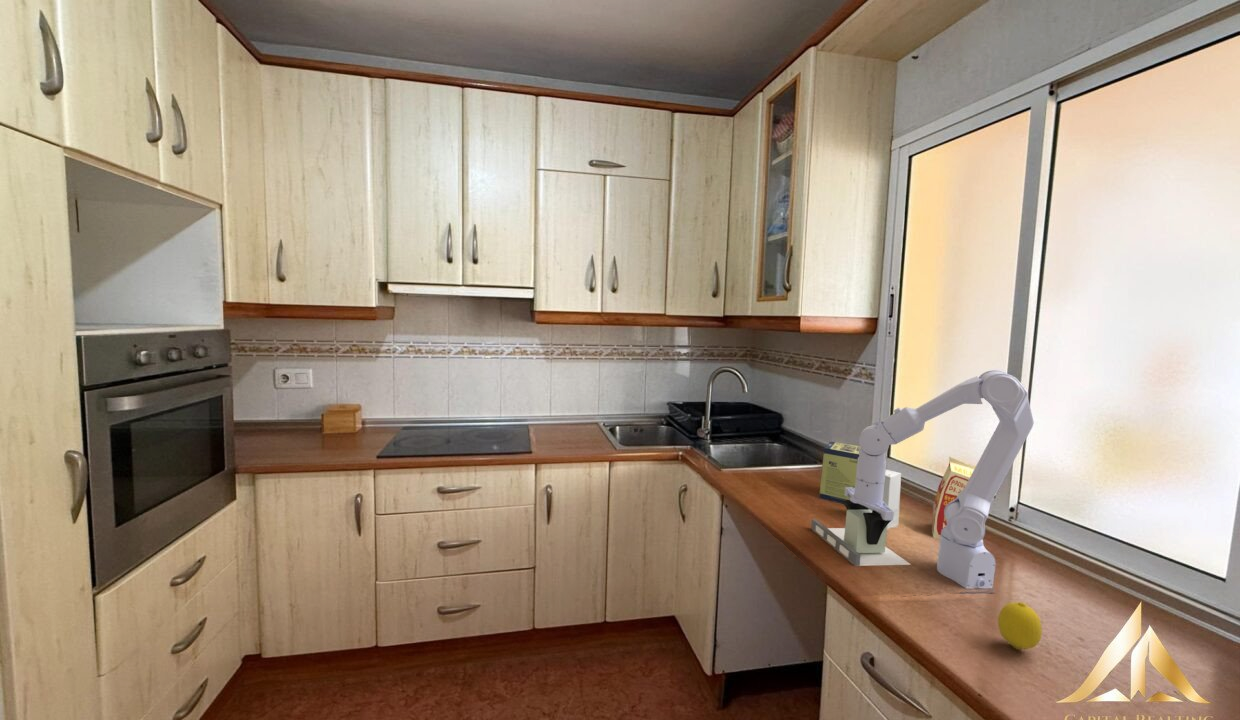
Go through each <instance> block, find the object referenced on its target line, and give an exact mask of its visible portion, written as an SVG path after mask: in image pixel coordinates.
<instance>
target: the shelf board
mask: <svg viewBox="0 0 1240 720" xmlns="http://www.w3.org/2000/svg"><path fill="white" fill-rule="evenodd" d="M810 525H811V526H810V529H811V530H812V531H813V532H814V533H815V534H817V536H819V537H820V538H821V539H822V540H824V541H825V542H826V543H827V544H829V546H831V547H832V548H833V549H834V550H836V551H837V552H838V553H839V554H840V555H842V556H843V557H844V558H845V559H847V561H849V562H850V563H851V564H852V565H854V566H855V567H861V566H862V567H863V566H869V567H870V566H910V565H912V564H911V563H909V562H908V561H907V560H906V559H904V558H903V557H901V556H900V555H898V554H897V553H895V551H893V550H891V549H890V548H888V547H887V546H886V545H885V553H858V552H857V551H855V550H854V549H853V548H852V547H850V546H849V545H848V544H846V543H845V542H844V534H845V527H839V528H838V527H832V528H831V527H830V528H829V527H827V526H825V525H824V524H822V523H821V522H820V521H819V520H817V519H816V518H812V519H811V524H810Z"/></svg>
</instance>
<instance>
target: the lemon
mask: <svg viewBox="0 0 1240 720" xmlns="http://www.w3.org/2000/svg"><path fill="white" fill-rule="evenodd" d="M997 624H998V629H999V633H1000V634H1001V636H1002V637H1003V639H1004V640H1005V641H1006V642H1008V644H1009V645H1011V646H1012V647H1013V648H1014V649H1015V648H1016V649H1015V650H1017V649H1019V650H1022V649H1023V650H1029V649H1032V648H1034V647H1036V646H1037V645H1038V644H1039V642H1040V641H1041V638H1042V632H1043V631H1042V629H1043V628H1042V623H1041V619H1040V617H1039V615H1038V614H1037V613H1036V611H1035V610H1034V609H1032V608H1031V607H1030V606H1028V605H1026V603H1025V602H1024V601H1020V602H1016V601H1015V602H1009V603H1007V604H1004V606H1003V607H1002V609H1000V612H999V615H998V619H997Z"/></svg>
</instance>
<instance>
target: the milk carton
mask: <svg viewBox="0 0 1240 720" xmlns="http://www.w3.org/2000/svg"><path fill="white" fill-rule="evenodd" d="M948 459H949V460H948V461H949V463H948V467H947V468H946V470H945V472H944V474H943V476H942V478H941V480H940V482H939V485H938V487H937V492H936V495H935V498H934V503H933V506H932V519H931V531H932V532H931V533H932V537H933V538H934V539H939V540H940V537H941V530H942V529H944V528H945V527H946V526H947V521H946V519H945V516H944V510H945V507H946V506H947V504H949V503H950V502H952V501H954V500H955V499H956V498H957V496H958V494H959V493H960V492H961V491H962V490H963V489H964V488H965V486H966V484H967V482H968V480H969V479H970V477H971V475H972V473H973V471H974V469H975V467H976V465H975V464H971V463H966V462H964V461H962V460H959V459H957V458H954V457H952V456H949V457H948Z"/></svg>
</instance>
